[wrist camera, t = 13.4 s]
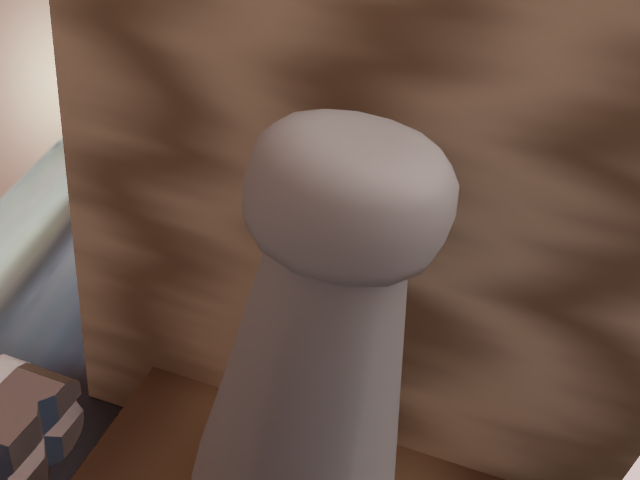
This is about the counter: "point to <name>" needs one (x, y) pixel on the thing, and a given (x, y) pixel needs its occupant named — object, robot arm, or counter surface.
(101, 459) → the cleat ledge
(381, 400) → the salt shaker
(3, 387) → the robot arm
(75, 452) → the counter surface
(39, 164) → the counter surface
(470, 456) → the wall board
